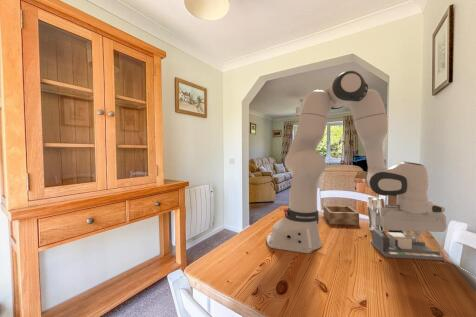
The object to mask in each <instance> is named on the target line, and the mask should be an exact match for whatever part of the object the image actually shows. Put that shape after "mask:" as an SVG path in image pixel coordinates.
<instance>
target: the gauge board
mask: <svg viewBox="0 0 476 317" xmlns="http://www.w3.org/2000/svg"><path fill="white" fill-rule="evenodd" d="M370 244H371V245H372V246H373V247H374V248H375V249H376V250H378V252H379V253H381V254H382V256H384V257H385V258H396V259H397V258H398V259H400V258H401V259H413V260H431V261H444V260H445V259H444V257H445V256H443V255H441V254H440V251H439V249H438V250H434V249H432V248H430V247H428V246H427V245H426V242H424V241H418V242H417V243H413V242H412V249H401V250H399V249H398V248H393V247H391V246H390V245H389V252H383V248H382V250H381V249H380V248H379V247H378V246H376V245H375V244H374V240H373V239H372V240H370Z"/></svg>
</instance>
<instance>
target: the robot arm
mask: <svg viewBox="0 0 476 317" xmlns="http://www.w3.org/2000/svg"><path fill="white" fill-rule="evenodd" d="M345 106H346V107H347V108H348V109H349V110H350V112H351V114H352V119H353V124H354V128H355V131H356V133H357V136H358V138H359V140H360V143H361V144H362V146H363V149H364V154H365V159H366V164H367V171H366V173H365V176H364V177H365V178H364V180H365V184H366V185H367V188H369V189H371V191H372V192H373V193H375V194H377V195H379V196H383V197H384V196H387V197H388V195H397V205H388V204H385V206H383V207H382V208H381V218H380V225H381V226H382V227H383V230H385V231H389V230H399V231H402V232H403V233H404V235H406V236H407V237H409V238H410V239H412V242H413V243H417V242H419V241H418V239H419V238H420V237H421V235H422V232H429V233H430V232H431V233H444V232H446V230H447V229H448V228H447V227H448V226H447V225H448V224H447V218H446V217H447V216H446V215H445V214H444V213H445V211H446V207H444V206H443V205H442V206H441V205H439V204H437V203H433V202H430V201H429V197H428V195H427V191H428V188H429V176H428V170H427V168H426V166H425V165H423V164H421V163H417V162H411V161H400V162H398V163H396V164H395V165H392V166H389V167H387V166H386V164H385V158H384V152H383V151H384V150H383V143H384V139H385V137H386V135H387V133H388V130H389V128H388V126H389V124H388V123H389V120H388V115H387V110H386V107H385V105H384V101H383V99H382V96H381V95H380V93H379V91H377V90H376V89H373V88H371V89H369V85H368V84H367V82H366V81H365V79H364V77H363V76H362V75H361V74H360V73H359V72H358V71H356V70H347V71H344V72H342V73H340V74H338V75H337V76H336V77H335V78H334V80H332V82H331V83H330V84H329V85H328V87H327V88H326V89H325V90H321V89H320V90H319V89H316V90H312V91H310V92H309V93H307V96H306V97H305V100H304V102H303V105H302V108H301V109H300V110H301V111H300V114H299V119H298V123H297V127H296V129H295V134H294V136H293V139H292V142H291V143H290V146H289V150H288V152H287V154H286V155H285V158H284V166H285V168H286V170H288V171H287V172H289V173H291V174H292V178H291V179H292V180H291V185H290V188H289V190H288V193H289V195H288V198H289V199H288V200H289V207H287V206H285V207H283V209H282V211H283V212H284V217H282V218H281V219H280V220H277V222H275V223H273V226H272V229H271V232H269V234H267V236H266V244H267V246H268V247H269V248H271V249H277V250H283V251H289V252H296V253H303V254H310V253H312V252H313V251H315V250H318V249H320V248H322V246H323V243H322V240H321V236H320V232H319V221H320V219H319V218H320V217H319V216H320V215H319V214H320V213H319V210H318V190H319V189H318V188H319V183H320V180H321V176H322V174H323V173H324V172H325V170H326V164H327V163H326V160H325V157H324V156H323V155H322V154H321V153H319V152H318V151H316V150H317V148H318V146H319V144H320V143H321V142H322V141H323V139H324V137H325V132H326V128H327V126H328V125H327V123H328V120H329V115H330V112H331V110H340V109H342V108H344V107H345ZM384 207H385V208H384ZM411 232H413V234H412V235H411V236H410V234H411Z"/></svg>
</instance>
